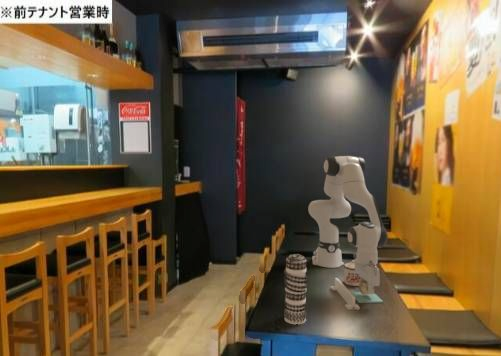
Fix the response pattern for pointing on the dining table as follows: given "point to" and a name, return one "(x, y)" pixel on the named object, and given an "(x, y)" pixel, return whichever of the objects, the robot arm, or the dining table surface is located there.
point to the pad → (366, 298)
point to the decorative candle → (295, 289)
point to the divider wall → (345, 295)
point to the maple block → (364, 287)
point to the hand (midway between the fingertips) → (366, 288)
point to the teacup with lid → (351, 274)
